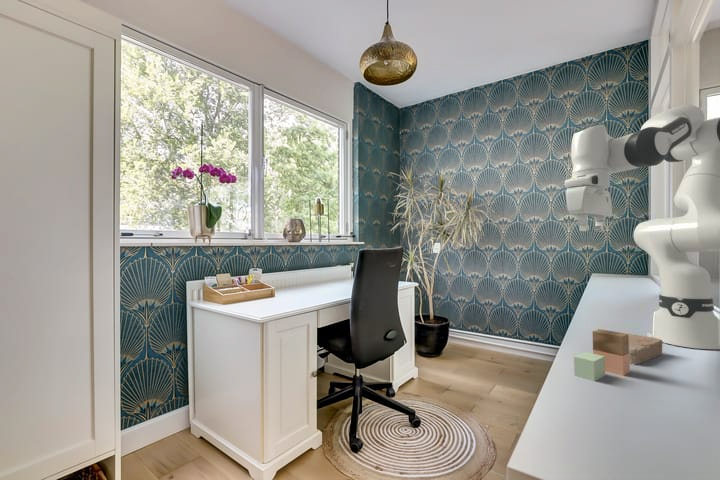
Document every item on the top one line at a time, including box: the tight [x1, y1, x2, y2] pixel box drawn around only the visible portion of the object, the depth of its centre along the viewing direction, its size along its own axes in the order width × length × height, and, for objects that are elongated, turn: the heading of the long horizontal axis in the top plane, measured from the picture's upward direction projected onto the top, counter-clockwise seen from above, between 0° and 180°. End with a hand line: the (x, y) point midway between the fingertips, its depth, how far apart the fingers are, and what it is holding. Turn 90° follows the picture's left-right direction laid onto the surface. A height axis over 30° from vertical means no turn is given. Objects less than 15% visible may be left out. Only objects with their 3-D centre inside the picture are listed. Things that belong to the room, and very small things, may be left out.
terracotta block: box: [592, 349, 631, 377], centre depth 80 cm, size 6×4×4 cm, turn 34°
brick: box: [627, 333, 664, 365], centre depth 91 cm, size 17×8×5 cm, turn 119°
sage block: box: [573, 351, 606, 382], centre depth 77 cm, size 6×4×4 cm, turn 124°
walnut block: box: [592, 328, 629, 356], centre depth 80 cm, size 6×4×4 cm, turn 35°
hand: (591, 231), depth 93 cm, fingers open, 8 cm apart
